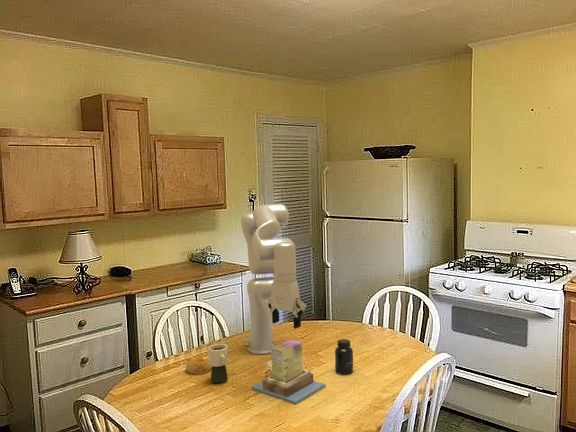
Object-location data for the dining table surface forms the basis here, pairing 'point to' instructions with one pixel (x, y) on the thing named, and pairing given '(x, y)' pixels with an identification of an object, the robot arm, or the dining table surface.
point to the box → (287, 360)
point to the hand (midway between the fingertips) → (286, 324)
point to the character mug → (218, 362)
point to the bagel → (198, 366)
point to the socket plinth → (288, 384)
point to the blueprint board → (295, 397)
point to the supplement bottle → (344, 357)
